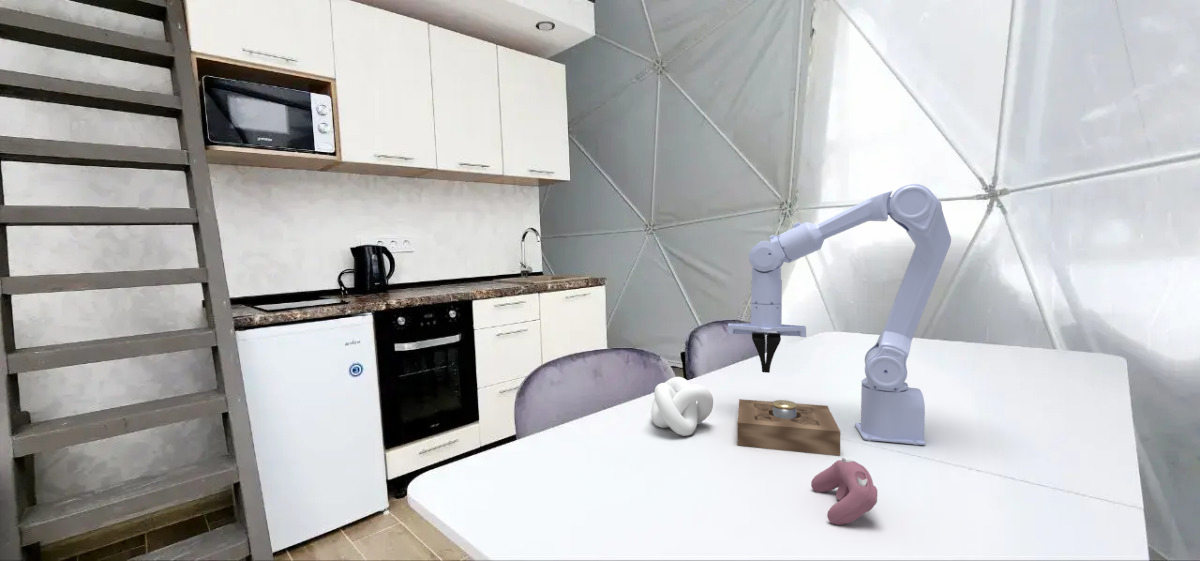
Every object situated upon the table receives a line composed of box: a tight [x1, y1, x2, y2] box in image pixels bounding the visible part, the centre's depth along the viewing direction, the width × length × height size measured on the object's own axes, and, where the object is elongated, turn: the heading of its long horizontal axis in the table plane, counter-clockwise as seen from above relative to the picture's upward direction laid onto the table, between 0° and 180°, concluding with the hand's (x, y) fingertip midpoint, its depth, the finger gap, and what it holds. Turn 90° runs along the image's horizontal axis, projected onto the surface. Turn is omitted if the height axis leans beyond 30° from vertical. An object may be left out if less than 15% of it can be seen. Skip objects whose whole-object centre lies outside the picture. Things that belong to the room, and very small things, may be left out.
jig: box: [736, 398, 841, 457], centre depth 88 cm, size 16×14×4 cm
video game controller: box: [810, 457, 878, 526], centre depth 63 cm, size 10×5×7 cm, turn 169°
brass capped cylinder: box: [772, 399, 797, 419], centre depth 88 cm, size 4×4×6 cm
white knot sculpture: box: [650, 376, 714, 437], centre depth 93 cm, size 11×12×9 cm
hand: (765, 371), depth 97 cm, fingers closed
